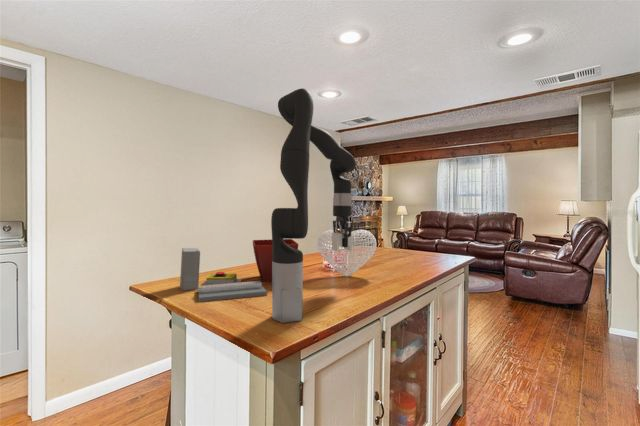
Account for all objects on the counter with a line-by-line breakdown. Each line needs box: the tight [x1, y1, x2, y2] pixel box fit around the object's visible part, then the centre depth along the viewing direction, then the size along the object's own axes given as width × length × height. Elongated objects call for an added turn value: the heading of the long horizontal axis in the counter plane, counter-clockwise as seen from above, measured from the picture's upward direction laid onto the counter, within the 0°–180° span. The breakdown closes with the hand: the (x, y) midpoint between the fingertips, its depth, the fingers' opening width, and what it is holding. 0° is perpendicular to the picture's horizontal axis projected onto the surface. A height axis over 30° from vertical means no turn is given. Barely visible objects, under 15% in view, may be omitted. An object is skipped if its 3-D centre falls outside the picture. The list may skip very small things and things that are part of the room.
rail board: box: [197, 285, 268, 303], centre depth 124 cm, size 14×24×2 cm, turn 111°
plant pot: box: [252, 239, 299, 283], centre depth 149 cm, size 19×19×17 cm
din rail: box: [200, 280, 263, 293], centre depth 124 cm, size 4×22×2 cm, turn 111°
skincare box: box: [179, 247, 201, 291], centre depth 132 cm, size 8×7×16 cm
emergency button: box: [202, 271, 242, 285], centre depth 142 cm, size 9×4×15 cm
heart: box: [317, 229, 378, 277], centre depth 154 cm, size 28×16×22 cm, turn 98°
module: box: [331, 232, 353, 252], centre depth 132 cm, size 7×5×7 cm
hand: (341, 246), depth 133 cm, fingers closed on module, 5 cm apart
